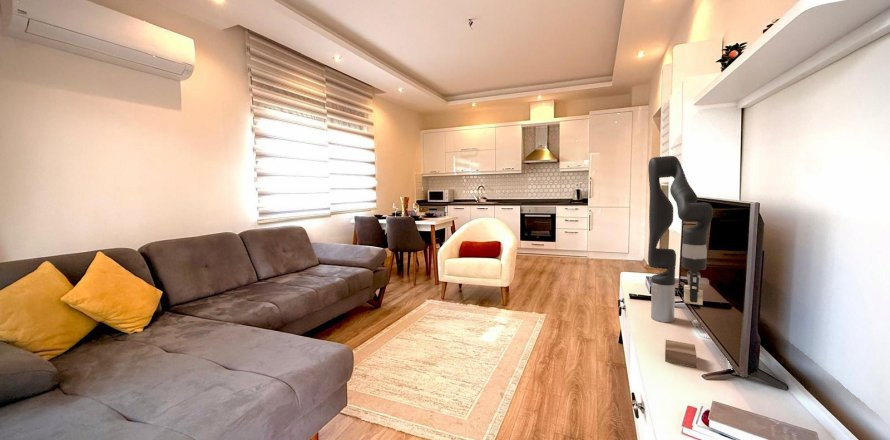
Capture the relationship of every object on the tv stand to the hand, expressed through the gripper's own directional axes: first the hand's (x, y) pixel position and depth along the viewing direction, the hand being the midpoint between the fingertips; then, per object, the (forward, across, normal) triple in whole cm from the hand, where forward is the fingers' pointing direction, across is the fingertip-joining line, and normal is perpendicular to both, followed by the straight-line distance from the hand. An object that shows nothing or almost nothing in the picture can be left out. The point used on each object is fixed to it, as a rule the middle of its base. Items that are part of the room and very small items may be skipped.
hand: (693, 299), depth 130 cm
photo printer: (+19, +12, +12) cm, 26 cm away
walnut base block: (+19, +12, -4) cm, 23 cm away
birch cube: (+1, 0, 0) cm, 1 cm away
